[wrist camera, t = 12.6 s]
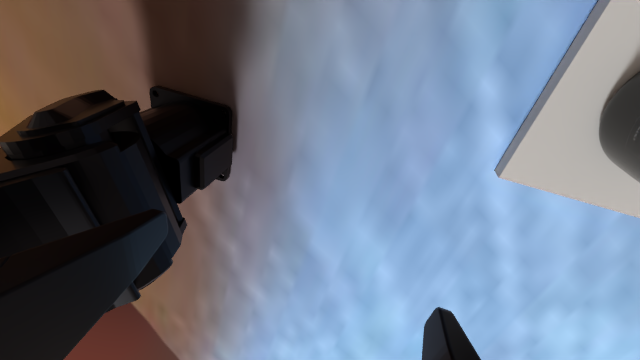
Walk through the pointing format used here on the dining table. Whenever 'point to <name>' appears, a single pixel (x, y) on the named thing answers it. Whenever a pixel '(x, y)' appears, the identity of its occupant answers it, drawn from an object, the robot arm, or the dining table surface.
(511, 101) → the dining table surface
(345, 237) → the dining table surface
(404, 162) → the dining table surface
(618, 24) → the mat
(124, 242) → the robot arm
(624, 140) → the supplement bottle
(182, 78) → the dining table surface
